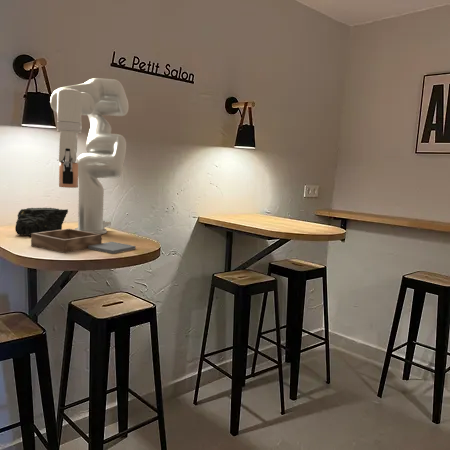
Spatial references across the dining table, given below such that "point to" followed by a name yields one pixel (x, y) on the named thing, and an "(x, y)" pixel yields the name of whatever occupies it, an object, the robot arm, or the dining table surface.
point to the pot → (75, 176)
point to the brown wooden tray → (65, 240)
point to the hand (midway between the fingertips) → (68, 182)
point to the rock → (39, 220)
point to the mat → (111, 247)
